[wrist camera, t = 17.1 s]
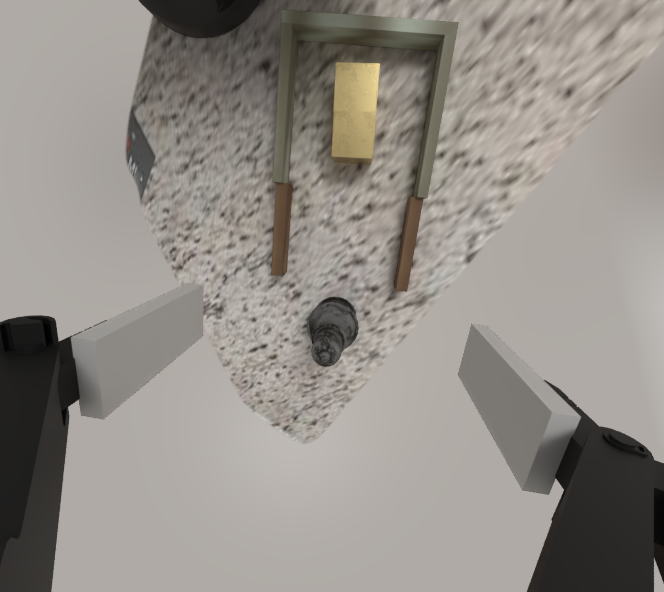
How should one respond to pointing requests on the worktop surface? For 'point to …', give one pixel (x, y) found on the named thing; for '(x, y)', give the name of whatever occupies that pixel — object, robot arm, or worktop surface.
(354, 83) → the chip
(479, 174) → the worktop surface
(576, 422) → the robot arm
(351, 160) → the tan wooden cube
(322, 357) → the salt shaker
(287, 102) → the frame
